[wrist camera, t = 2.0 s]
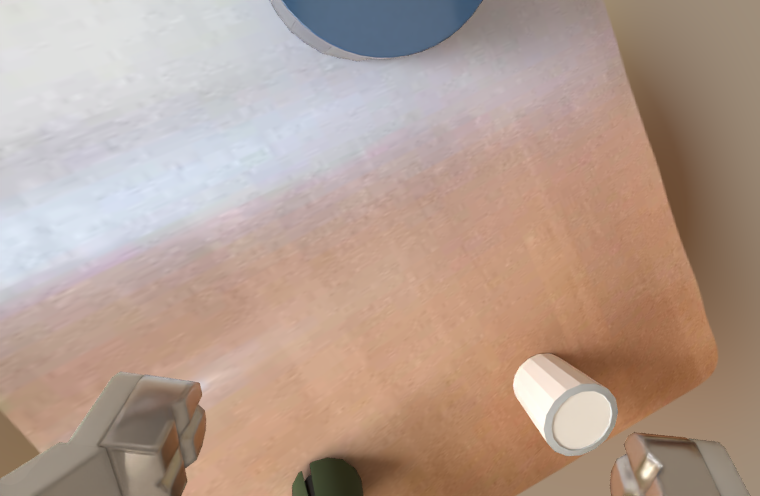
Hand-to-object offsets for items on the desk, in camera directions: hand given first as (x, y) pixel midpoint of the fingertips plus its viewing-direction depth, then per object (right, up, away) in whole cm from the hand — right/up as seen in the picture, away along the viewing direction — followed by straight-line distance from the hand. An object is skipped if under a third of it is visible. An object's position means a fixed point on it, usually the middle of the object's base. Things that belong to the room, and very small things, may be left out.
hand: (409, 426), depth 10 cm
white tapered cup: (+15, -9, +41) cm, 45 cm away
